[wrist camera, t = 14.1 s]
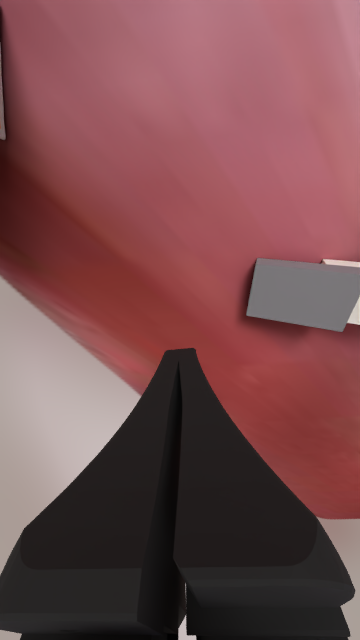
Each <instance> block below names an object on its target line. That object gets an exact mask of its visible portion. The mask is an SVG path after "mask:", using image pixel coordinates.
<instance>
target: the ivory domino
mask: <svg viewBox="0 0 360 640" xmlns="http://www.w3.org/2000/svg"><path fill="white" fill-rule="evenodd" d="M321 264H329V265H340V266H351V267H360V262H352V261H341V260H329V259H323V260H322V263H321ZM347 323H352V324H358V325H360V297H359V299H358V301H357V303H356V305H355V307H354V309H353V311H352V313H351V315H350V317H349V319H348V321H347Z"/></svg>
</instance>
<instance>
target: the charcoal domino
mask: <svg viewBox="0 0 360 640" xmlns="http://www.w3.org/2000/svg"><path fill="white" fill-rule="evenodd" d="M359 297H360V267H351V266H340V265H329V264H318V263H308V262H297V261H286V260H275V259H264V258H257V261H256V266H255V271H254V276H253V282H252V287H251V292H250V298H249V303H248V308H247V314H246V316H252V317H258V318H264V319H270V320H275V321H281V322H287V323H293V324H299V325H304V326H310V327H316V328H322V329H328V330H333V331H339V332H343V330H344V328H345V326H346V324H347V321H348V319H349V317H350V315H351V313H352V311H353V309H354V307H355V305H356V303H357V301H358V299H359Z"/></svg>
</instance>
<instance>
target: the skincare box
mask: <svg viewBox="0 0 360 640" xmlns="http://www.w3.org/2000/svg"><path fill="white" fill-rule="evenodd" d="M0 139H2V140H5V139H6V135H5V126H4V107H3V92H2V76H1V44H0Z"/></svg>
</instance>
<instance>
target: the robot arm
mask: <svg viewBox="0 0 360 640" xmlns="http://www.w3.org/2000/svg"><path fill="white" fill-rule="evenodd" d="M185 583H186V592H185ZM354 594H355V589H354V586H353V584H352V581H351V579H350V576H349V574H348V572H347V569H346V567H345V566H344V564H343V562H342V560H341V558H340V556H339V554H338V552H337V550H336V549H335V547H334V545H333V544H332V542H331V540H330V538H329V537H328V535H327V533H326V532H325V530H324V528H323V527H322V525H321V524H320V522H319V520H318V519H317V518H316V516H315V515H314V514H313V513H312V512H311V511H310V510H309V509H308V508H307V507H306V506H305V505H304V504H303V503H302V502H301V501H300V500H299V499H298V498H297V497H296V495H295V494H294V493H293V492H292V491H291V490H290V489H289V488H288V487H287V486H286V485H285V484H284V483H283V482H282V480H281V479H280V478H279V477H278V476H277V475H276V474H275V473H274V471H273V470H272V469H271V468H270V467H269V466H268V465H267V464H266V462H265V461H264V460H263V459H262V458H261V456H260V455H259V454H258V453H257V452H256V450H255V449H254V448H253V447H252V446H251V444H250V443H249V442H248V441H247V439H246V438H245V437H244V436H243V434H242V433H241V432H240V430H239V429H238V428H237V426H236V425H235V424H234V422H233V421H232V420H231V418H230V417H229V415H228V414H227V412H226V411H225V409H224V408H223V406H222V405H221V403H220V402H219V400H218V398H217V397H216V395H215V393H214V392H213V390H212V388H211V386H210V385H209V383H208V381H207V379H206V377H205V375H204V373H203V371H202V368H201V366H200V363H199V361H198V358H197V354H196V350H195V349H194V348H188V349H176V350H167V351H166V352H165V353H164V355H163V358H162V360H161V362H160V364H159V366H158V368H157V370H156V372H155V374H154V376H153V378H152V380H151V382H150V383H149V385H148V387H147V389H146V390H145V392H144V393H143V395H142V397H141V398H140V400H139V401H138V403H137V405H136V406H135V408H134V409H133V411H132V412H131V413H130V415H129V416H128V418H127V419H126V420H125V422H124V423H123V424H122V426H121V427H120V428H119V430H118V431H117V432H116V433H115V434H114V436H113V437H112V438H111V439H110V441H109V442H108V443H107V444H106V446H105V447H104V448H103V449H102V450H101V452H100V453H99V454H98V455H97V456H96V457H95V458H94V459H93V460H92V461H91V462H90V463H89V465H88V466H87V467H86V468H85V469H84V470H83V471H82V472H81V473H80V474H79V476H77V478H76V479H75V480H74V481H73V482H72V483H71V484H70V485H69V486H68V487H67V488H66V489H65V490H64V491H63V492H62V493H61V494H60V495H59V496H58V497H57V498H56V499H55V500H54V501H53V502H52V503H51V504H49V505H48V506H47V507H46V508H45V509H44V510H43V511H42V512H41V513H40V514H39V515H38V516H37V517H36V518H35V519H34V520H33V521H32V522H31V523H30V524H29V525H27V526H26V527H25V528H24V530H23V532H22V534H21V535H20V538H19V539H18V541H17V543H16V545H15V547H14V548H13V550H12V552H11V554H10V556H9V558H8V560H7V563H6V565H5V567H4V569H3V571H2V573H1V575H0V630H5V631H10V632H16V633H21V634H22V635H21V638H20V640H178V628H179V626H180V625H181V623H182V621H183V619H184V617H185V615H186V626H187V627H186V629H187V635H196V639H197V640H348V637H350V631H349V628H348V625H347V623H346V620H345V618H344V615H343V612H342V610H341V607H340V606H341V605H343V604H345V603H346V602H348V601H350V600H351V599H352V598H353V597H354Z"/></svg>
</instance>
